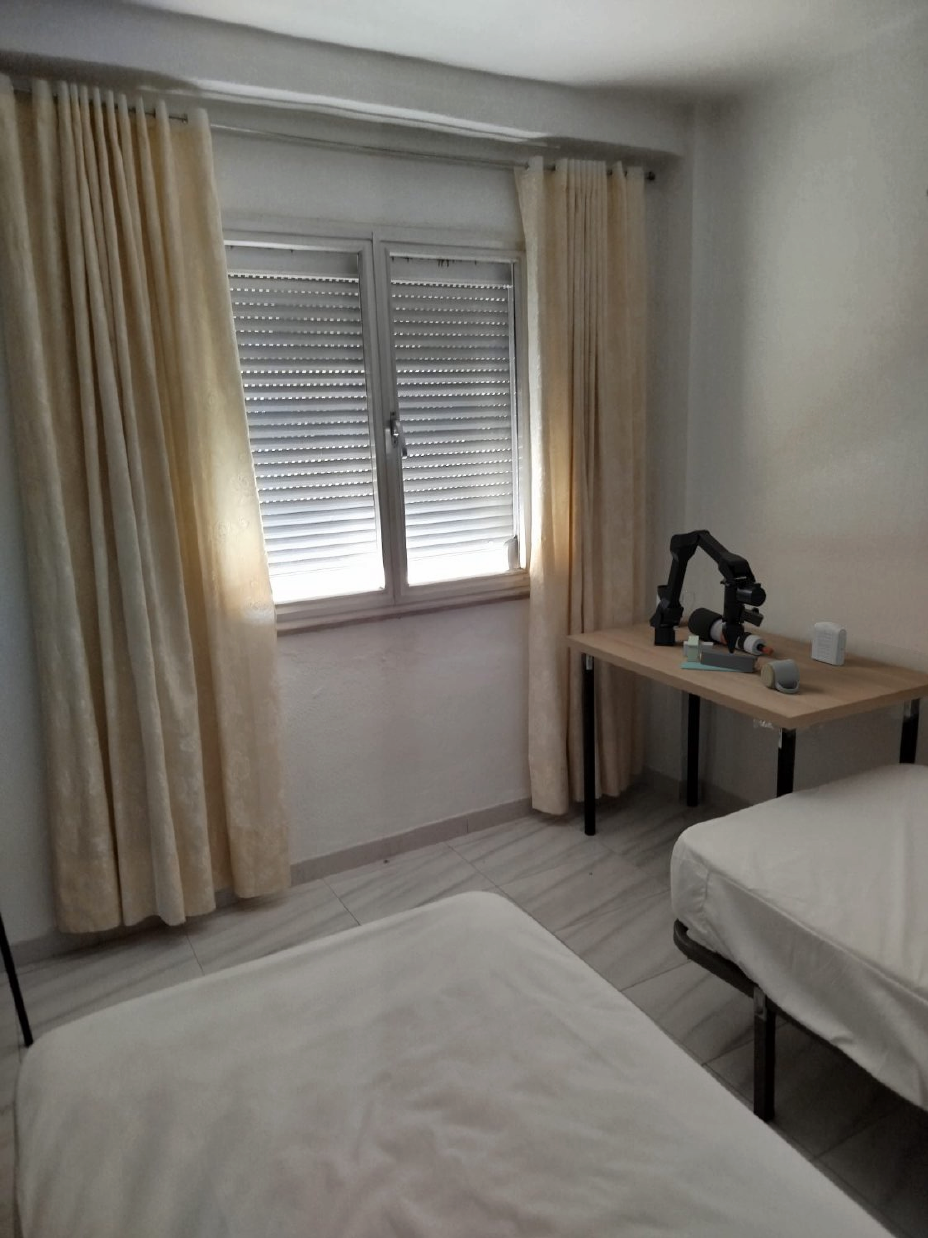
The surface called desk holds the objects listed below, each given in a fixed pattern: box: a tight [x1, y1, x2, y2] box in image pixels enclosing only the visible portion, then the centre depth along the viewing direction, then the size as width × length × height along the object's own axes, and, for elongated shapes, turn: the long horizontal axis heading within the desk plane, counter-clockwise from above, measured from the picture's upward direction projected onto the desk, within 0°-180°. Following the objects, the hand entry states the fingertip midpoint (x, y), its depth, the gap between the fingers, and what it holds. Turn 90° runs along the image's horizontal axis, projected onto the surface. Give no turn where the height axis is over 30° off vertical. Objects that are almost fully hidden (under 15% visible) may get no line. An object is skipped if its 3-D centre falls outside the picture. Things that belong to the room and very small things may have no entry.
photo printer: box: [811, 621, 847, 667], centre depth 245 cm, size 10×4×12 cm, turn 25°
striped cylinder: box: [687, 607, 775, 656], centre depth 265 cm, size 10×34×10 cm, turn 25°
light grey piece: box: [686, 634, 700, 662], centre depth 255 cm, size 3×13×6 cm, turn 163°
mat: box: [680, 661, 746, 673], centre depth 243 cm, size 19×7×1 cm, turn 73°
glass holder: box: [655, 584, 696, 629], centre depth 296 cm, size 9×14×15 cm, turn 67°
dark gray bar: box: [699, 649, 760, 673], centre depth 242 cm, size 18×4×4 cm
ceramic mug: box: [760, 658, 801, 695], centre depth 221 cm, size 11×8×8 cm
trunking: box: [682, 640, 714, 658], centre depth 257 cm, size 9×4×4 cm, turn 73°
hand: (731, 651), depth 241 cm, fingers open, 4 cm apart
